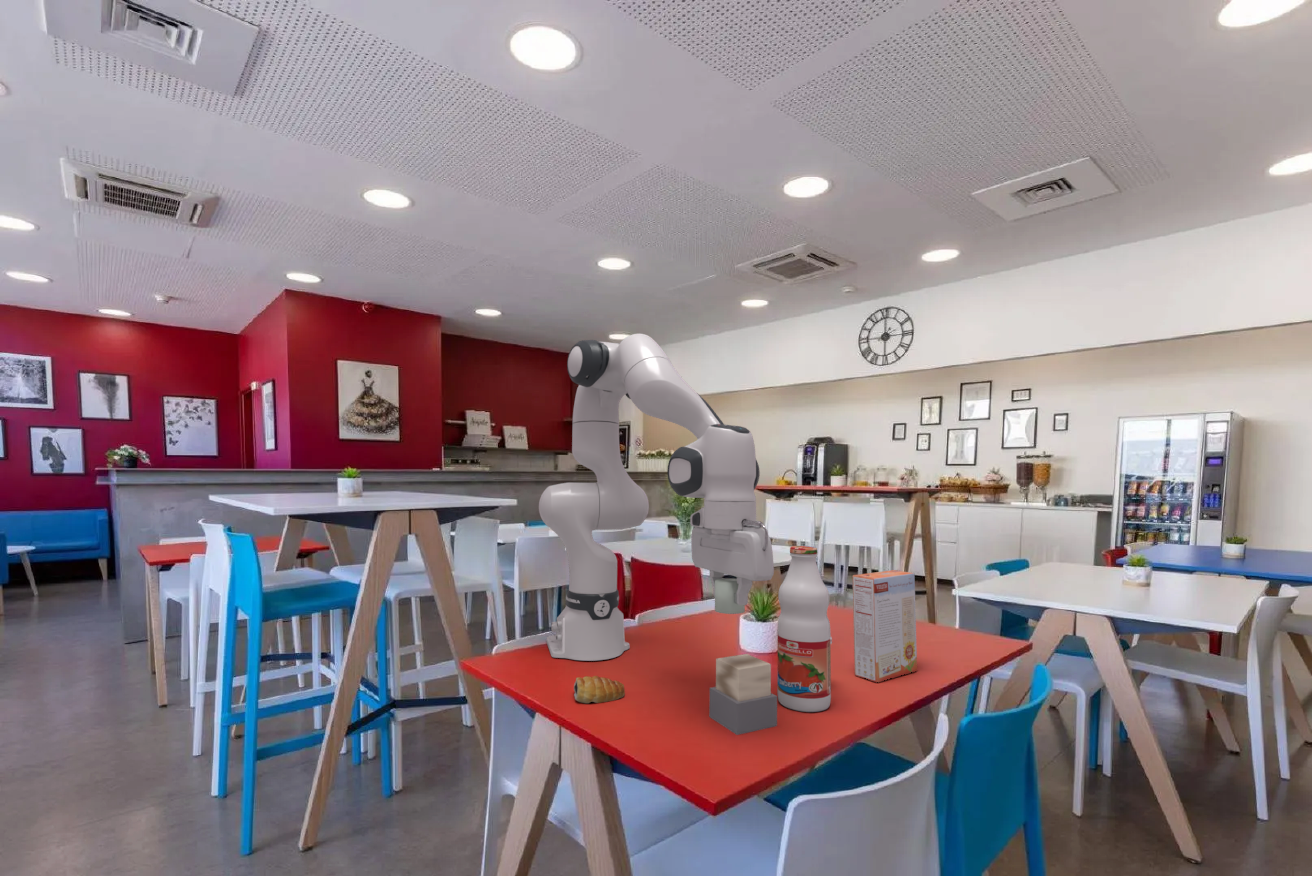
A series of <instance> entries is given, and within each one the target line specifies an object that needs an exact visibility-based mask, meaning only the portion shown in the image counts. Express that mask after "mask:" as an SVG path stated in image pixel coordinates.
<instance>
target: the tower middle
mask: <svg viewBox="0 0 1312 876" xmlns="http://www.w3.org/2000/svg"><path fill="white" fill-rule="evenodd" d="M771 681H772V664H771V663H769V662H767V661H764V660H762V659H761V658H758V657H755V656H753V655H750V654H749V653H744V654H743V653H742V654H738V655H731V656H724V657H718V658H717V657H716V658H715V687H716V689H717V690H719V691H721V692H723V693H724V694H726V695H728V696H730V697H732V698H734V699H735V700H737V701H744V700H749V699H754V698H759V697H764V696H769V695H771V693H772V691H771V690H772V689H771V688H772V687H771V686H772V685H771V684H772V682H771Z"/></svg>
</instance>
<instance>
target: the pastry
mask: <svg viewBox="0 0 1312 876" xmlns="http://www.w3.org/2000/svg"><path fill="white" fill-rule="evenodd" d="M625 690H626V689H625V685H624V683H622V682H620V681H618V680H612V679H611V678H607V677H603V676H602V677H599V676H598V675H593V676H584V677H576V678H575V682H574V684H573V691H574V694H573V697H574V700H575V701H577V702H578V703H581V704H590V703H591V702H592V703H595V704H601V703H608V702H614V701H616V700H617V701H618V700H619V699H621V698H624V697H625V694H626V691H625Z"/></svg>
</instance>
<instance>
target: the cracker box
mask: <svg viewBox="0 0 1312 876" xmlns="http://www.w3.org/2000/svg"><path fill="white" fill-rule="evenodd" d="M915 576H916V575H915V573H914V572H910V571H909V572H908V571H903V570H898V569H897V570H896V569H895V570H894V569H891V570H886V571H885V570H884V571H876V572H869V573H861V574H853V575H852V610H853V612H852V613H853V616H852V617H853V619H852V620H853V651H854V652H853V653H854V655H853V656H854V659H853V661H854V663H853V664H854V676H856V677H857V678H858V677H859V678H860V679H864V678H866V679H865V680H867V679H868V680H867V681H871V682H874V683H877V682H878V683H882V682H884V680H885V681H888V680H891V679H890V678H892V679H895V678H898V677H901V675H902V676H905V675H907V674H912V673H915V671H916V672H917V671H918V660H917V659H918V657H917V656H918V655H917V654H918V653H917V652H918V651H917V647H918V646H917V615H916V586H915V582H916V581H915V580H916V579H915V578H916V577H915ZM911 672H912V673H911ZM904 674H905V675H904ZM887 679H888V680H887Z"/></svg>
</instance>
